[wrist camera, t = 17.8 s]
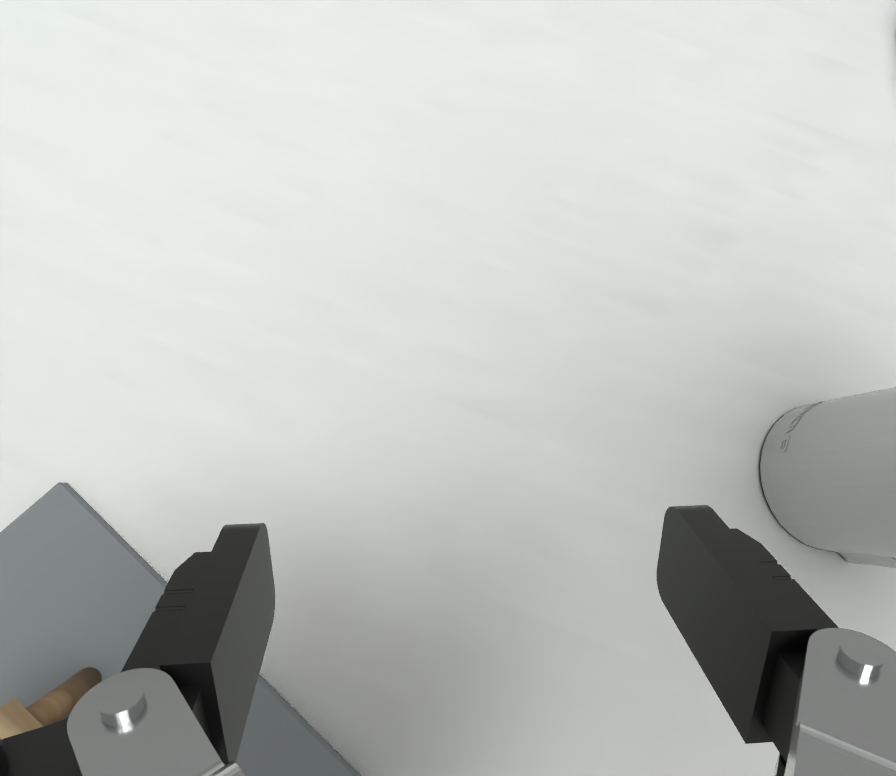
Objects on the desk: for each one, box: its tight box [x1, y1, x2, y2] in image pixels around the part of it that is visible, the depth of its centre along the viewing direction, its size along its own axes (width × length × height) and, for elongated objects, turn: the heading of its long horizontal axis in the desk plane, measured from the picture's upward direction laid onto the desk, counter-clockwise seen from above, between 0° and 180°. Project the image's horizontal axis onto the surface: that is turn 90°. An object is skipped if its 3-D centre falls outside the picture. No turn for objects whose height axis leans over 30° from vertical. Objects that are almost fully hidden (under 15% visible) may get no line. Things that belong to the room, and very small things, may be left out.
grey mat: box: [0, 483, 360, 776], centre depth 29 cm, size 22×14×1 cm, turn 46°
